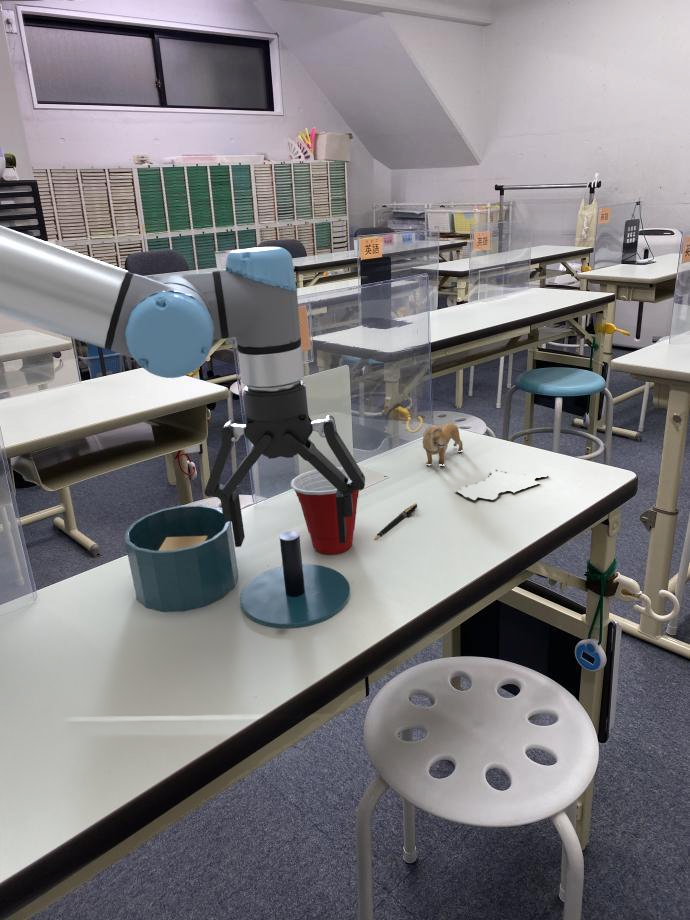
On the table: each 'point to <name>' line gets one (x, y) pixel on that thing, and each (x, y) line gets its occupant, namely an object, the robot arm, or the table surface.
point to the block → (181, 542)
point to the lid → (294, 590)
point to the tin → (181, 558)
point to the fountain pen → (397, 520)
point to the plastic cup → (323, 512)
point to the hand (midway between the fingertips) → (291, 540)
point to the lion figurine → (440, 440)
